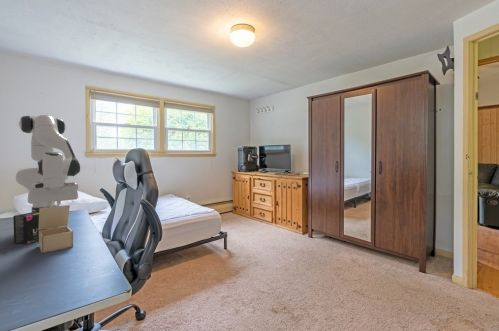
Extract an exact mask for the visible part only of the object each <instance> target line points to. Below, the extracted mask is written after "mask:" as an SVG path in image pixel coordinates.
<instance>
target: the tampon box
mask: <svg viewBox="0 0 499 331" xmlns="http://www.w3.org/2000/svg"><path fill="white" fill-rule="evenodd" d="M38 227H39V212H32V211H31V212H26V213H22V214H15V215H13V243H15V244H16V243H17V244H24V245H25V244H26V245H28V244H31V243H34V242H37V241H38V242H39V231H40V230H38ZM42 230H46V229H42Z"/></svg>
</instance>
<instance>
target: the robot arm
mask: <svg viewBox="0 0 499 331" xmlns="http://www.w3.org/2000/svg"><path fill="white" fill-rule="evenodd" d="M18 126H19V129H20V130H21V132H23V133H25V134H32V135H31V141H30V152H31V153H30V154H31V155H30V156H31V159H32V160H33V161H35V162H37V167H29V168H22V169H20V170H18V171H17V172H16V174H15V180H16V182H17V183H18V184H19V185H20V186H23V187H24V188H25V189H27V190H28V193H27V194H28V195H27V203H28V204H30V205H32V207H31V212H39V208H47V207H53V206H61V203H62V202H63V201H64V202H65V201H75V200H77V199H78V198H79V193H78V189H79V184H78V183H77V182H67V180H68V179H69V177H76V176H77V175H78V174H79V173H80V172H81V164H80V162H79V160H78V158H77V157H76V155H75V153H74V150H73V148H72V146H71V143H70V142H69V141H68V139H67V138H66V137H64V136H63V135H62V134H64V133H65V131H66V129H67V127H66V123H65V121H64V120H63V119H61V118H58V117H56V118H55V117H53V116H50V115H48V114H41V115H38V116H35V115H34V116H33V115H32V116H31V115H23V116H21V117H20V119H19V122H18ZM54 149H57V150H59V151H61V152H62V153H61V152H57V151H54ZM56 203H57V204H56ZM49 229H52V228H49Z"/></svg>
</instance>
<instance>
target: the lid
mask: <svg viewBox="0 0 499 331" xmlns="http://www.w3.org/2000/svg"><path fill="white" fill-rule="evenodd" d="M70 207H71V205H70V204H68V205H67V204H65V205H59V206H53V207H47V208H39V227H38V230H42V229H49V228H58V227H65V226H68V224H69V215H70Z"/></svg>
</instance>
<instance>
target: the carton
mask: <svg viewBox="0 0 499 331" xmlns="http://www.w3.org/2000/svg"><path fill="white" fill-rule="evenodd" d="M38 247H39V250H40V253H41V254H47V253H51V252H55V251H60V250H64V249H69V248H73V247H74V232H73V230H72V229H71V228H70V227H69V226H68V225H67V226H61V227H55V228H52V229H46V230H40V231H39V240H38Z"/></svg>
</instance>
